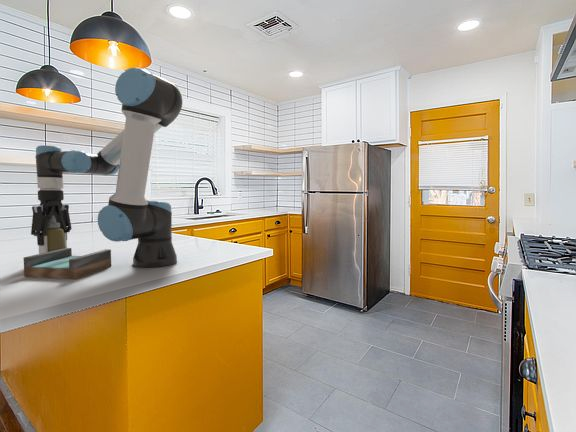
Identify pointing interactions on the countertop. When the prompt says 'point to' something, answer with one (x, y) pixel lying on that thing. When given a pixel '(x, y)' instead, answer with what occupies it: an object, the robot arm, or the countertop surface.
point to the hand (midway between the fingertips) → (53, 251)
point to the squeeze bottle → (55, 235)
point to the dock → (65, 264)
